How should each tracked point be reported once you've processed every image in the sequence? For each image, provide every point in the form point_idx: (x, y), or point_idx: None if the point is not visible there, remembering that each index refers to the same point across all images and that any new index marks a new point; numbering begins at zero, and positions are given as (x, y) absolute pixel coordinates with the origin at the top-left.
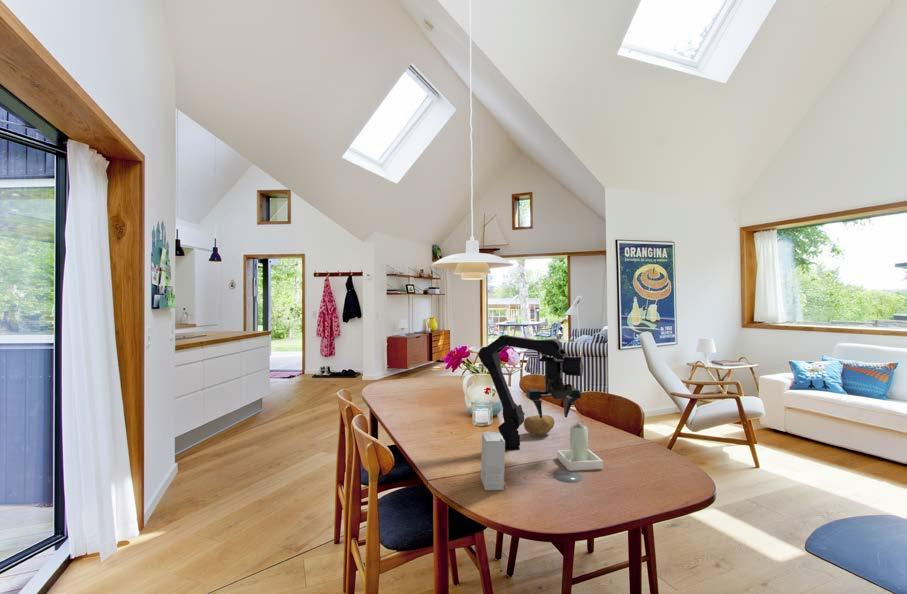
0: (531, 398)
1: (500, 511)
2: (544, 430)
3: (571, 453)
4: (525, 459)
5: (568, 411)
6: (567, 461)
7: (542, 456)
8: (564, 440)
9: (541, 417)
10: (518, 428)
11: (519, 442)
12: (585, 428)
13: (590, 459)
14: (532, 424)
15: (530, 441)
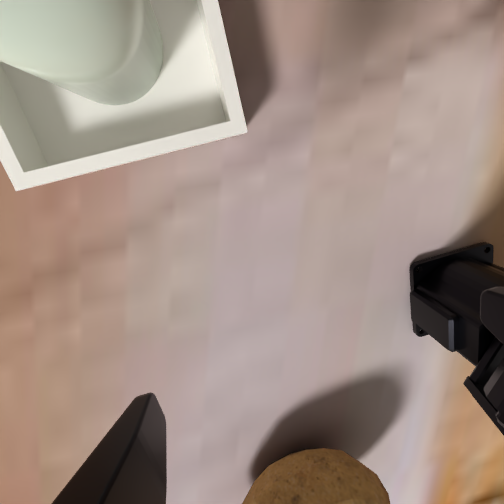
0: None
1: None
2: (279, 471)
3: None
4: (408, 121)
5: (71, 485)
6: None
7: (313, 182)
8: (180, 428)
9: (500, 289)
10: (465, 380)
11: (424, 298)
12: None
13: (26, 122)
14: (355, 484)
15: (340, 381)
